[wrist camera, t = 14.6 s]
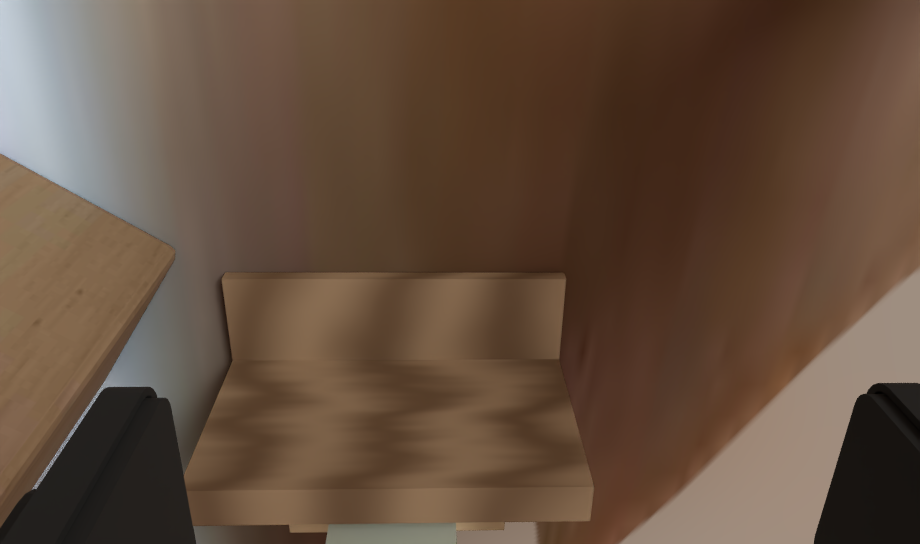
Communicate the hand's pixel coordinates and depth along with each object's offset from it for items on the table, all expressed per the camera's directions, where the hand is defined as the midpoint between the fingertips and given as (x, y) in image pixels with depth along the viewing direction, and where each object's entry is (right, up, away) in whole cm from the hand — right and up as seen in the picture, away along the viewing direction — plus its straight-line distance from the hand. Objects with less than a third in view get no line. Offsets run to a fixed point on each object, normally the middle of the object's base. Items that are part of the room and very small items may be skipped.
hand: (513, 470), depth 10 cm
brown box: (-4, -3, +33) cm, 33 cm away
